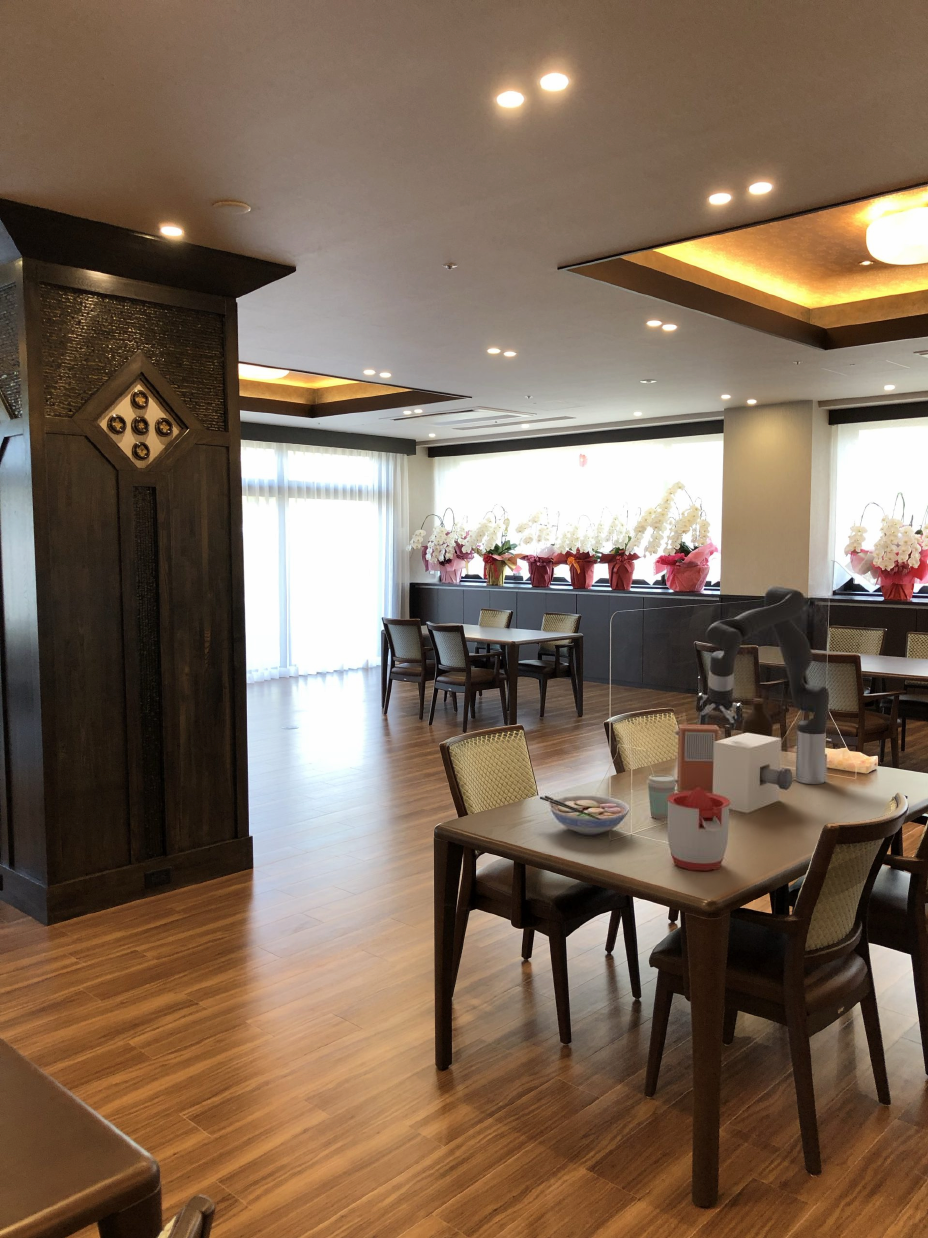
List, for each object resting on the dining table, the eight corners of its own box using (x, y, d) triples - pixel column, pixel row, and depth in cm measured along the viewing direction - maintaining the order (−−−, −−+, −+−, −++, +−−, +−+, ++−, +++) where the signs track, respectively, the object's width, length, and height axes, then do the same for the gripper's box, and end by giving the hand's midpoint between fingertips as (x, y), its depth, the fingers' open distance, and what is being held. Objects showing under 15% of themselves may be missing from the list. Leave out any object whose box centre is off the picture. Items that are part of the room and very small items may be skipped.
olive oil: (763, 772, 335) (766, 702, 333) (735, 767, 342) (737, 699, 340) (776, 766, 343) (778, 699, 341) (748, 762, 350) (751, 695, 348)
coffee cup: (678, 815, 283) (679, 776, 282) (670, 823, 275) (671, 782, 274) (651, 811, 287) (651, 772, 286) (642, 818, 279) (643, 779, 278)
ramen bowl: (649, 836, 263) (649, 808, 262) (585, 850, 251) (585, 820, 250) (591, 814, 284) (591, 787, 283) (530, 826, 272) (530, 798, 271)
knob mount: (744, 792, 308) (746, 732, 306) (779, 800, 299) (781, 738, 297) (712, 804, 294) (714, 741, 292) (747, 813, 285) (749, 748, 284)
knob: (764, 782, 295) (765, 762, 294) (792, 787, 289) (792, 767, 288) (754, 786, 291) (755, 765, 290) (782, 791, 284) (782, 771, 284)
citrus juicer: (682, 879, 230) (684, 799, 228) (656, 855, 247) (658, 781, 245) (742, 875, 233) (744, 796, 231) (712, 852, 250) (714, 778, 248)
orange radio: (672, 786, 315) (718, 788, 314) (675, 792, 308) (722, 793, 307) (674, 723, 313) (720, 724, 312) (676, 728, 306) (723, 729, 305)
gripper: (747, 683, 289) (744, 726, 297) (703, 672, 297) (700, 715, 304) (739, 695, 284) (736, 739, 292) (694, 683, 291) (692, 726, 299)
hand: (718, 726), depth 298 cm, fingers open, 8 cm apart
